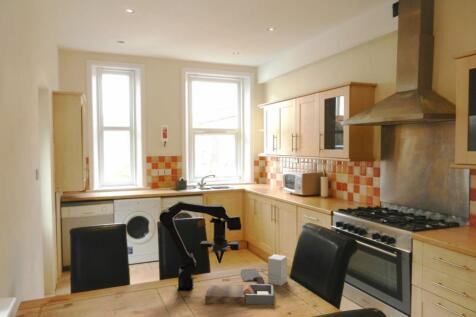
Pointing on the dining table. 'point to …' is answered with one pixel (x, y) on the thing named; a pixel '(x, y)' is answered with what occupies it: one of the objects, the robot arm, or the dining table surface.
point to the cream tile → (262, 292)
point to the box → (261, 298)
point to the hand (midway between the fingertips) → (219, 263)
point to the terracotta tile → (248, 289)
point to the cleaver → (251, 276)
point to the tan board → (225, 294)
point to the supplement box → (277, 269)
